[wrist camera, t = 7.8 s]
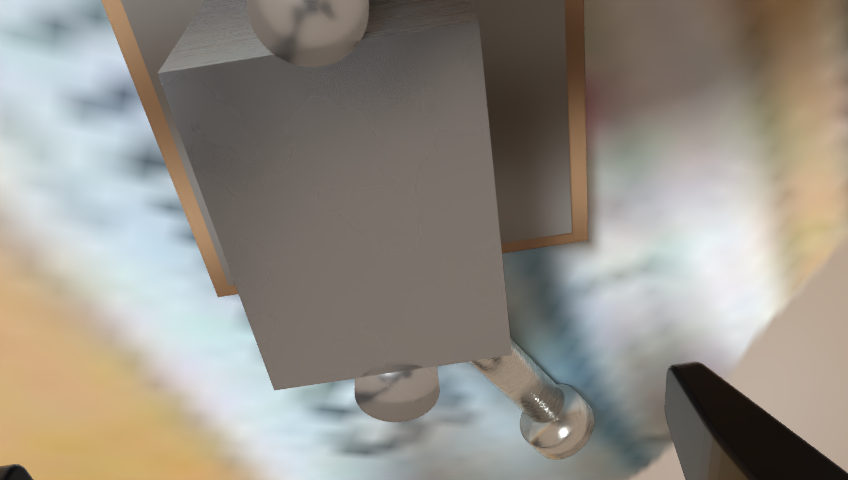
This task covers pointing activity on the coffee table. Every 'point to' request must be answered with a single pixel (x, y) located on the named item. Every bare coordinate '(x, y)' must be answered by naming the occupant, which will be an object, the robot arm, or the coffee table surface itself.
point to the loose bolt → (541, 404)
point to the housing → (349, 186)
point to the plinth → (506, 101)
